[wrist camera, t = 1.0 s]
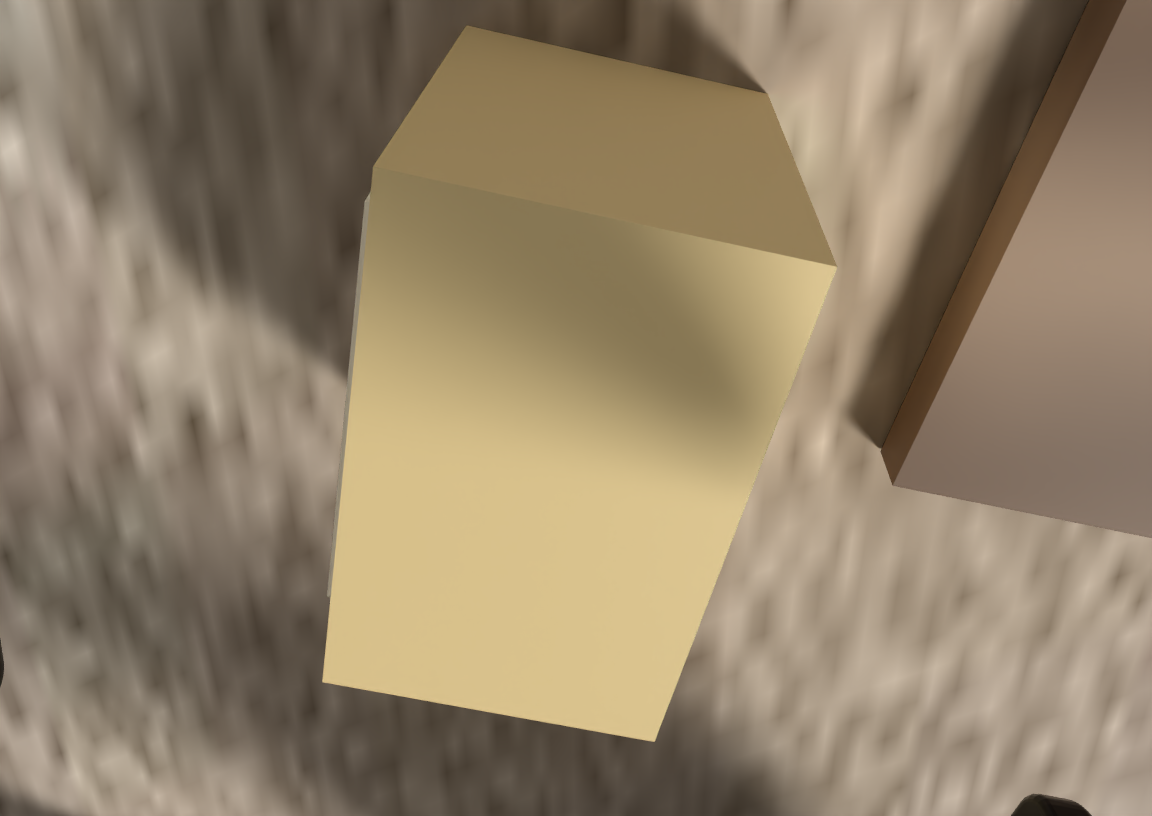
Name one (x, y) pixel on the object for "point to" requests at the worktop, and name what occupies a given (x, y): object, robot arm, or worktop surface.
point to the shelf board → (1054, 309)
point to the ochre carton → (561, 380)
